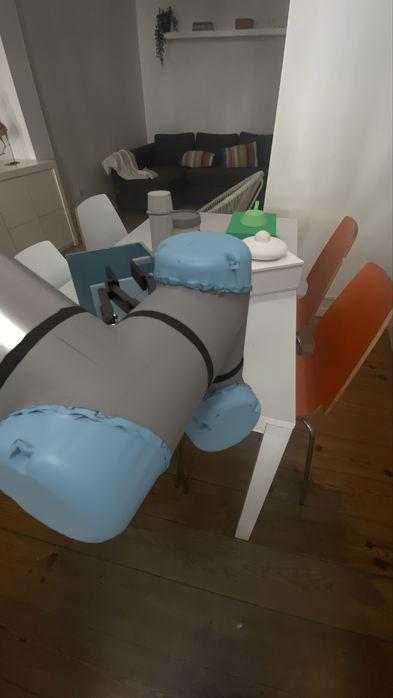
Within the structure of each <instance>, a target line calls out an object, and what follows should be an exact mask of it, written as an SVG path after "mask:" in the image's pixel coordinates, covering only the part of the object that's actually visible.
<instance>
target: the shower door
mask: <svg viewBox="0 0 393 698" xmlns="http://www.w3.org/2000/svg"><path fill="white" fill-rule="evenodd" d="M149 274H150V275H151V276H153V274H152V273H149ZM118 281H119V285H120V289H122V290H123V291H124V292H125V293H126V294H128V295H129V296H130V297H131V298H136V299H137V300H138V301H139V302H142V301H143V300H144V299H146V298H147V297H148V296H149V295H148V288H147V290H146V291H142V289H141V288H140V287H139V285H138V284H137V283H136V281H135V280H134V279H133V277H130V278H125V279H121V280H118ZM99 288H105V284H104V283H102V284H97V285H92V286H90V289H91V293H92V297H93V301H94V305H95V309H96V313H97V317H98V318H99V319H100V320H101V321H103V317H104V312H103V310H102V307H101V304H100V300H99V295H98V291H97V290H98V289H99ZM105 289H106V288H105ZM110 302H111V304H112V306H113V309H114V313H117V316H118V317H120V319H121V320H122V319H123V318H124V317H125V316H126V315H127V314H126V313H125V312H123V311H122V310H121V309H120V308H119V307H118V306H117V305H116V304H115V303H114V302H113V301H112V300H110ZM103 322H104V321H103Z"/></svg>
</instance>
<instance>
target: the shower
mask: <svg viewBox="0 0 393 698" xmlns="http://www.w3.org/2000/svg"><path fill="white" fill-rule="evenodd" d="M64 255H65V258H66V259H65V260H66V262H67V266H68V269H69V274H70V277H71V280H72V284H73V288H74V291H75V296H76V298H77V301H78V305H79V306H81V307H83V308H84V309H85V310H87V311H88V312H89V313H91V314H92V315H94V316H95V317H97V313H96V309H95V305H94V301H93V297H92V293H91V289H90V286H92V285H97V284H102V283H104V279H107V275H106V270H105V267H108V266H109V267H110V268H111V270H112V271H113V273H114V275H115V276H116V278H117V279H118V280H121V279H125V278H130V277H132V274H131V268H130V262H133V261H134V262H135V264H136V265H137V266H138V267H139V268H140V270H141V271H147V272H148V273H152V274H153V275H154V273H153V272H154V255H155V254H154V253H153V251H152V250H151V249H150V248H149V246H147V245H146V244H145V243H144V242H143V241H136V242H130V243H124V244H119V245H118V244H117V245H112V246H107V247H101V248H96V249H89V250H83V251H78V252H72V253H67V254H66V253H65V254H64ZM97 318H98V317H97Z"/></svg>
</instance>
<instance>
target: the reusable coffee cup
mask: <svg viewBox="0 0 393 698" xmlns="http://www.w3.org/2000/svg"><path fill="white" fill-rule="evenodd" d="M171 212H172V214H173V230H174V235H177V234H181V233H186V232H194V231H201V224H202V218H201V217H202V216H201V213H200V212H199V211H196V210H193V209H175V210H172V211H171Z"/></svg>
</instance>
